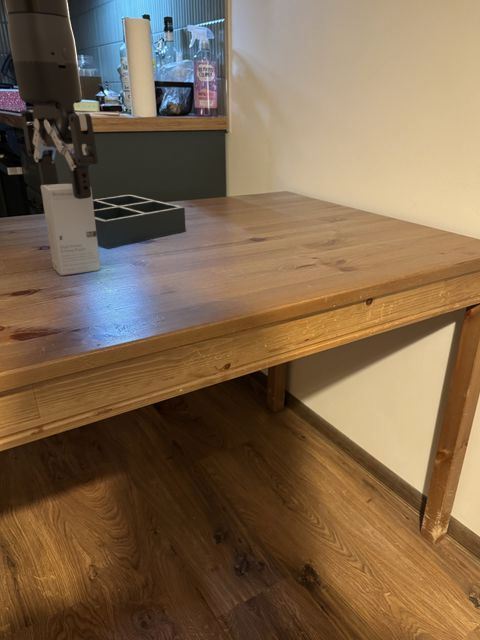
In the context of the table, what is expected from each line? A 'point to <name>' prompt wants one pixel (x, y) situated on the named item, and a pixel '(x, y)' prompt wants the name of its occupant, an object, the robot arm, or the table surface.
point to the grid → (135, 220)
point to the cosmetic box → (70, 230)
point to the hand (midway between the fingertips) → (66, 193)
